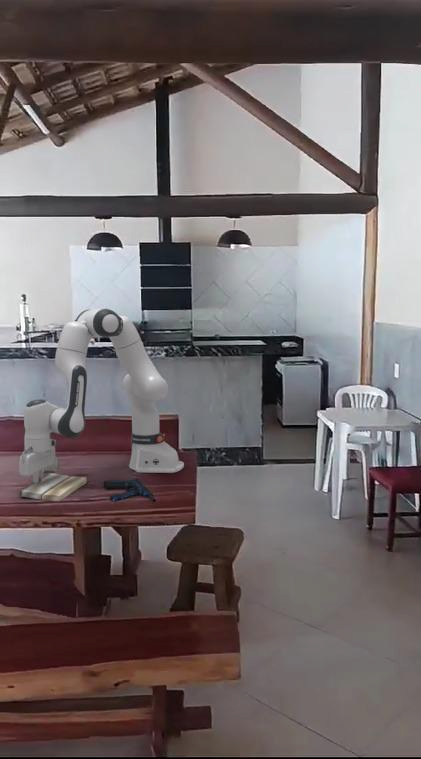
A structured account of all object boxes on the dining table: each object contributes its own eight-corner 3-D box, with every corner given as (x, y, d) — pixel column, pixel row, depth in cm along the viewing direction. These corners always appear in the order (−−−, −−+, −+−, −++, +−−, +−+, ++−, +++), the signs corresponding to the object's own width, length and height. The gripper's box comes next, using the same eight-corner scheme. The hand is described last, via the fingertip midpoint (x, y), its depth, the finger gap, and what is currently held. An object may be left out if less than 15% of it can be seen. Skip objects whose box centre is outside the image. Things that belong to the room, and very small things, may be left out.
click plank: (68, 481, 245) (69, 475, 245) (40, 499, 224) (41, 493, 223) (49, 478, 247) (49, 472, 246) (19, 496, 226) (20, 490, 225)
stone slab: (32, 478, 255) (57, 473, 257) (31, 471, 255) (56, 466, 256) (36, 463, 277) (60, 459, 278) (35, 457, 276) (59, 453, 278)
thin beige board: (86, 482, 243) (86, 477, 243) (59, 501, 222) (59, 495, 222) (69, 481, 245) (69, 476, 245) (42, 499, 224) (41, 494, 223)
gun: (116, 510, 217) (158, 503, 223) (116, 502, 216) (158, 496, 222) (98, 487, 238) (137, 482, 244) (98, 480, 238) (137, 475, 244)
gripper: (30, 452, 223) (31, 490, 224) (58, 439, 242) (58, 475, 244) (14, 450, 224) (14, 489, 226) (42, 438, 244) (43, 473, 246)
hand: (37, 481), depth 235 cm, fingers closed, pressing on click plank
